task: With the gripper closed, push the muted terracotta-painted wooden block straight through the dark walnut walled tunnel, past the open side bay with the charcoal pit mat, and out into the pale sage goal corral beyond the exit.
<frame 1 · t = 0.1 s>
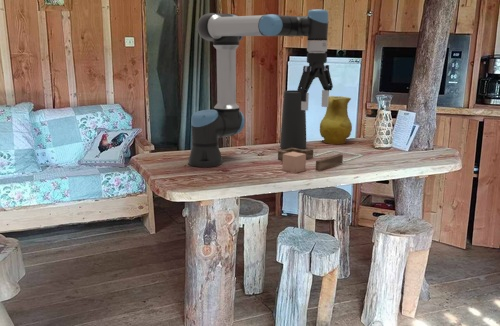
hand: (315, 108, 190), 28 cm above the table, fingers open, 13 cm apart
tapered dark column: (293, 147, 252), on the table
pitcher: (336, 142, 267), on the table
tunnel: (314, 163, 219), on the table
pit mat: (293, 159, 227), resting in tunnel
block: (293, 170, 208), on the table
goal corral: (338, 156, 233), on the table
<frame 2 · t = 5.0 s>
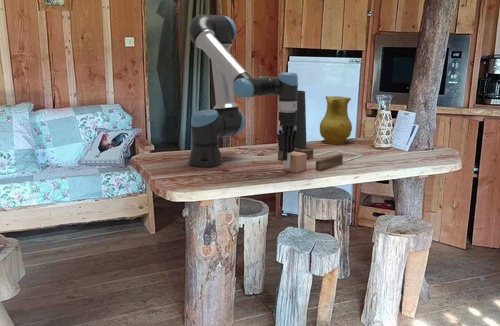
hand: (286, 167, 204), 2 cm above the table, fingers closed
block: (294, 169, 208), on the table, touching gripper
everything else where it was.
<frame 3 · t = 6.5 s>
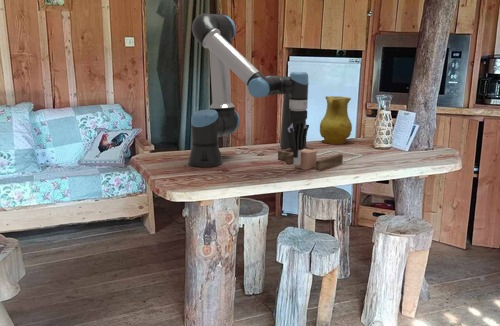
hand: (296, 164, 209), 2 cm above the table, fingers closed
block: (304, 166, 214), on the table, touching gripper
everything else where it was.
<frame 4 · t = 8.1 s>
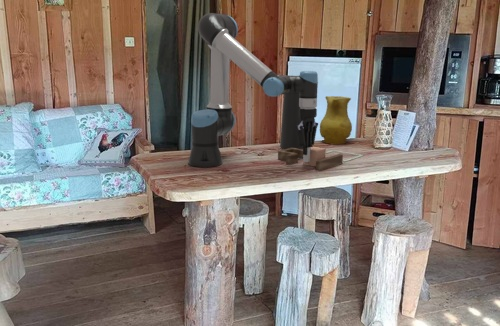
hand: (306, 161, 214), 2 cm above the table, fingers closed
block: (314, 164, 218), on the table, touching gripper
everything else where it was.
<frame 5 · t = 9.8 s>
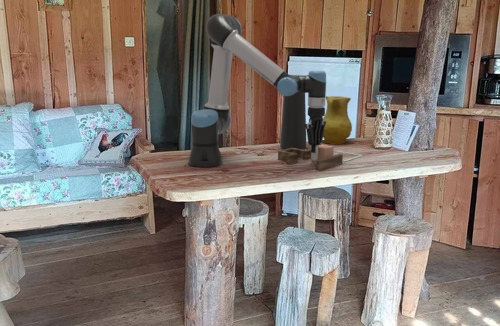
hand: (314, 159, 218), 2 cm above the table, fingers closed
block: (322, 161, 223), on the table, touching gripper
everything else where it was.
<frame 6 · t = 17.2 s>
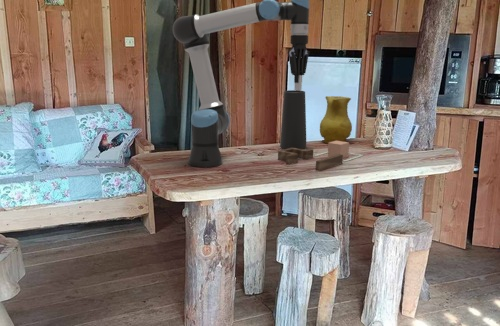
hand: (297, 90, 214), 32 cm above the table, fingers closed
block: (338, 157, 232), on the table
everything else where it was.
at the end: block inside the target area (1.6 cm from its centre), on the table; block moved 33.9 cm from its start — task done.
